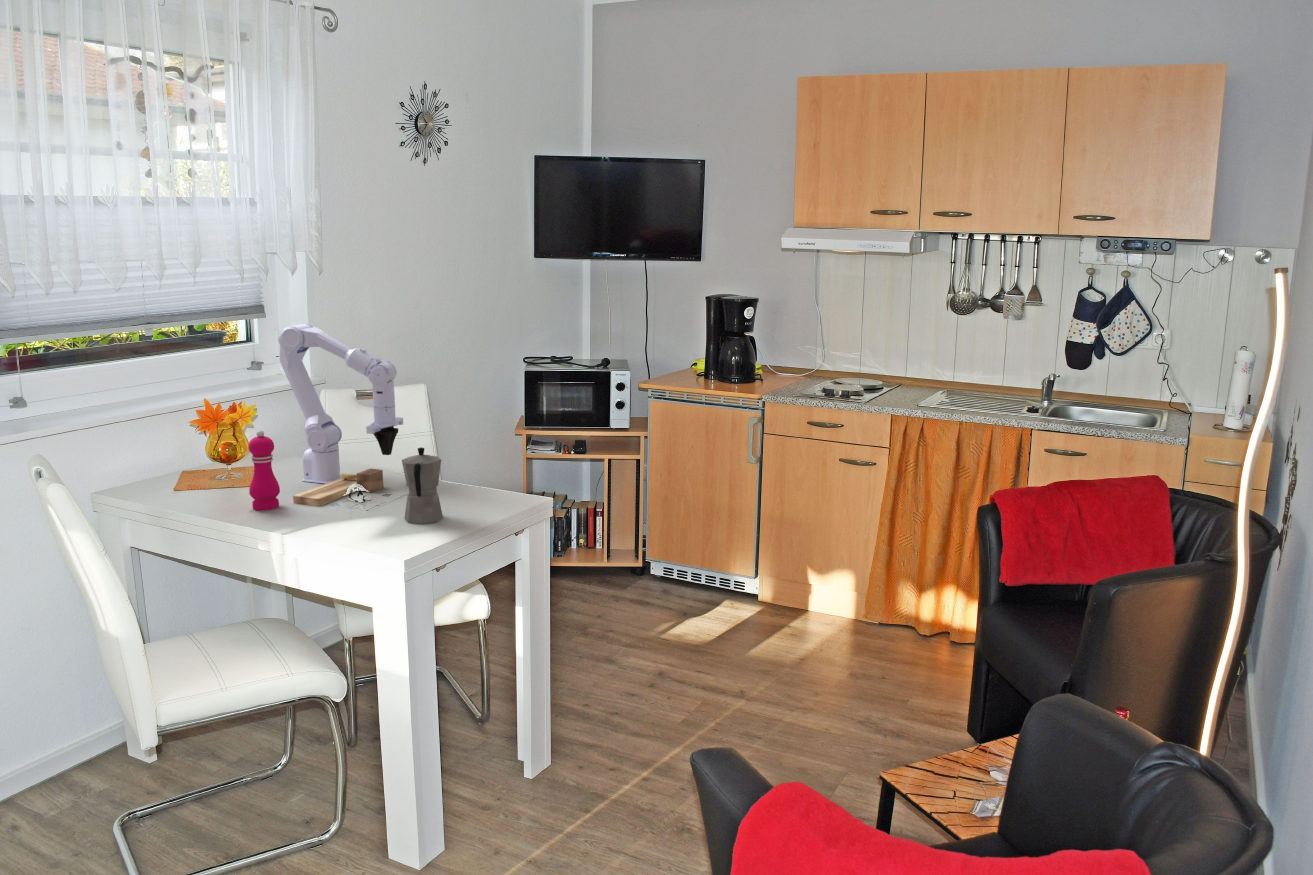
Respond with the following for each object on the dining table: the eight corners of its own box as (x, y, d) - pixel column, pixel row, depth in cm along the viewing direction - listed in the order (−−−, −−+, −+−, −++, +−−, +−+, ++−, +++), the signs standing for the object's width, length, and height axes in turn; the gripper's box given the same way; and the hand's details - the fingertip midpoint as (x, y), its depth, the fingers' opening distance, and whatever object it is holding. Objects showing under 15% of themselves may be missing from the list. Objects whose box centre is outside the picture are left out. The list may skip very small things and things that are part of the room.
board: (293, 503, 252) (292, 495, 252) (344, 483, 272) (344, 476, 271) (319, 506, 250) (318, 498, 249) (369, 486, 269) (368, 479, 269)
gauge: (335, 488, 266) (334, 471, 265) (349, 483, 272) (348, 466, 271) (370, 492, 263) (369, 474, 262) (383, 487, 268) (382, 469, 267)
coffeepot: (408, 511, 246) (405, 441, 242) (446, 511, 247) (443, 441, 243) (398, 530, 231) (395, 456, 227) (439, 529, 232) (436, 455, 228)
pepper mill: (270, 512, 244) (264, 433, 240) (244, 510, 246) (238, 432, 242) (286, 504, 251) (281, 428, 247) (261, 502, 253) (255, 426, 249)
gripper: (381, 411, 261) (383, 461, 264) (411, 402, 274) (413, 450, 277) (358, 409, 263) (361, 459, 266) (390, 401, 277) (392, 448, 279)
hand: (386, 454), depth 272 cm, fingers closed
